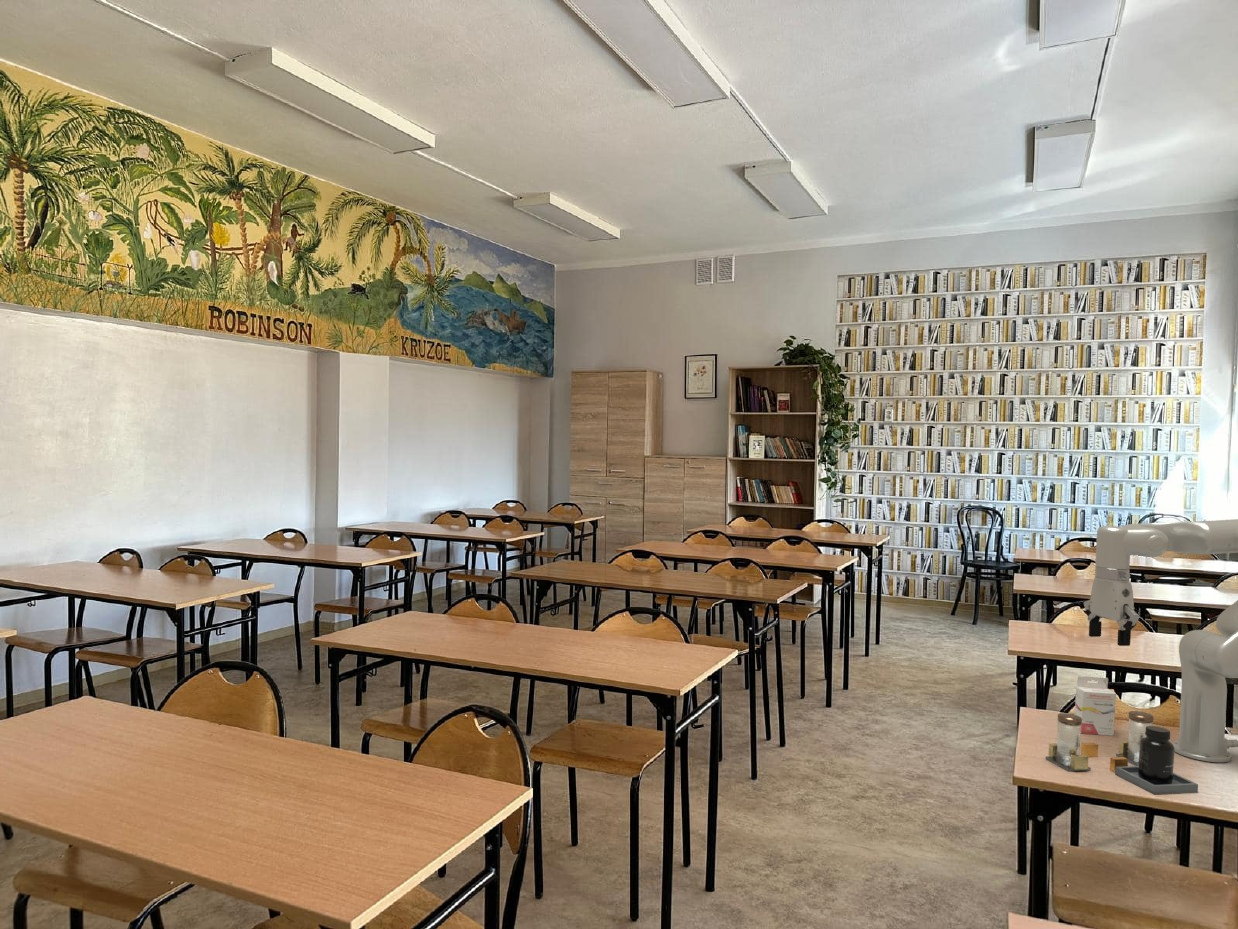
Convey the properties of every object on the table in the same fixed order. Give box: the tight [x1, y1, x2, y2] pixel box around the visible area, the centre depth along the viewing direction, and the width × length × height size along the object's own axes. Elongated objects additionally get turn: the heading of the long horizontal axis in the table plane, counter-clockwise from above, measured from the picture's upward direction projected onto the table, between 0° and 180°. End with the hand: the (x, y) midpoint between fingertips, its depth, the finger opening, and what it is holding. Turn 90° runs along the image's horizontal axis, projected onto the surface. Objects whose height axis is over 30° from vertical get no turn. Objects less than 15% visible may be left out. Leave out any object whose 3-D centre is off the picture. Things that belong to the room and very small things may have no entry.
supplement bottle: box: [1138, 725, 1175, 785], centre depth 193 cm, size 7×7×12 cm
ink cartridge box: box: [1074, 675, 1117, 736], centre depth 228 cm, size 9×5×15 cm, turn 84°
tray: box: [1114, 765, 1199, 795], centre depth 193 cm, size 11×11×2 cm
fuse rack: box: [1045, 710, 1154, 773], centre depth 204 cm, size 26×11×12 cm, turn 100°
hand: (1109, 641), depth 213 cm, fingers open, 9 cm apart
